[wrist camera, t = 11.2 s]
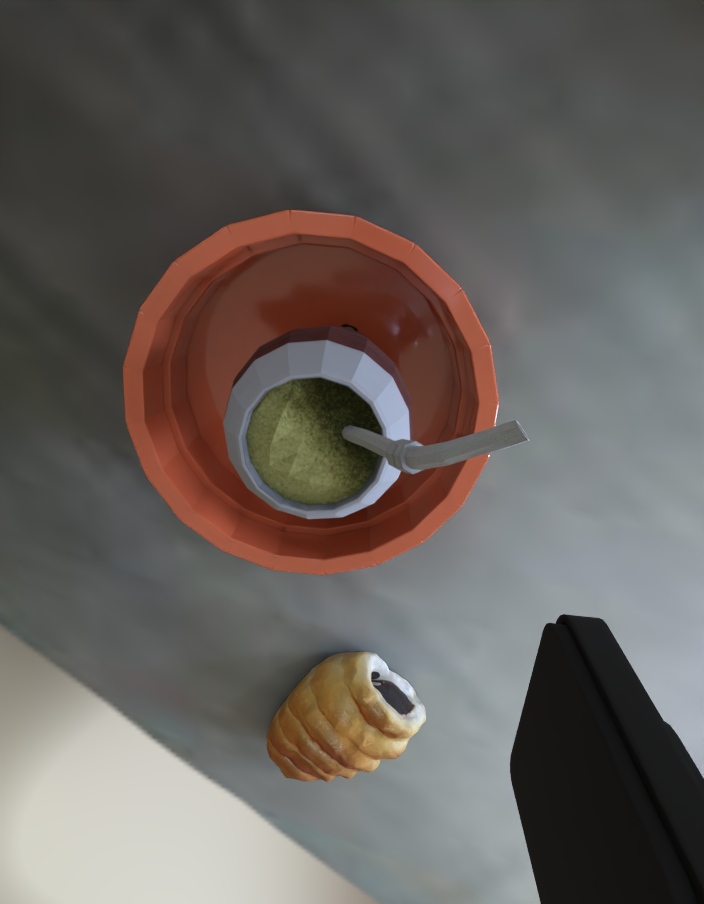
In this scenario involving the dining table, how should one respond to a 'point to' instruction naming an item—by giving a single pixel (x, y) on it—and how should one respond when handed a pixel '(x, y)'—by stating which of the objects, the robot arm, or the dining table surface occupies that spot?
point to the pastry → (344, 719)
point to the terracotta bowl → (271, 315)
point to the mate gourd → (332, 424)
